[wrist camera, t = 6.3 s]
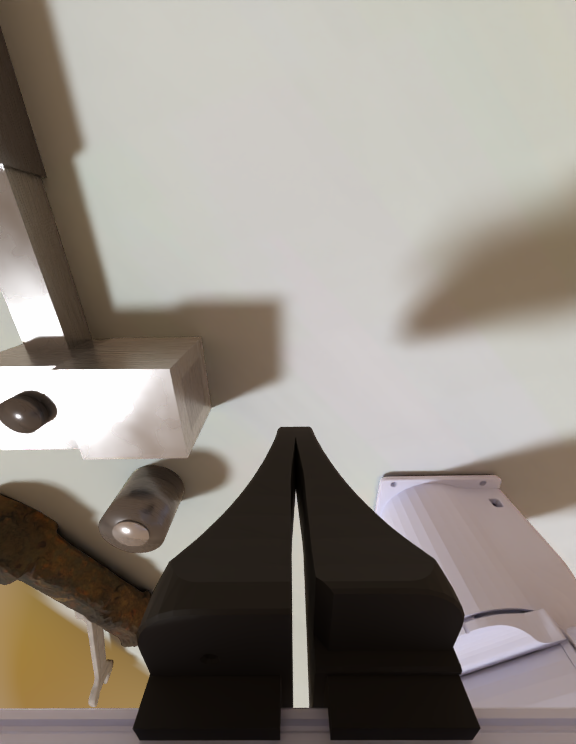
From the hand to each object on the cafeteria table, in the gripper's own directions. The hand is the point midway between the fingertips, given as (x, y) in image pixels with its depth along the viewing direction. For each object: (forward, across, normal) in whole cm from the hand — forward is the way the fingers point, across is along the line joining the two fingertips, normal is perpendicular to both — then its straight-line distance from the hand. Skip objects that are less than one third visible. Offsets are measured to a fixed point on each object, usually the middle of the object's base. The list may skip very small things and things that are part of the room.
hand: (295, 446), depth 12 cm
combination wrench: (+8, +22, +32) cm, 39 cm away
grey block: (+7, +8, 0) cm, 11 cm away
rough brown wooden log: (+8, +20, +18) cm, 28 cm away
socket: (+7, +11, +10) cm, 17 cm away
